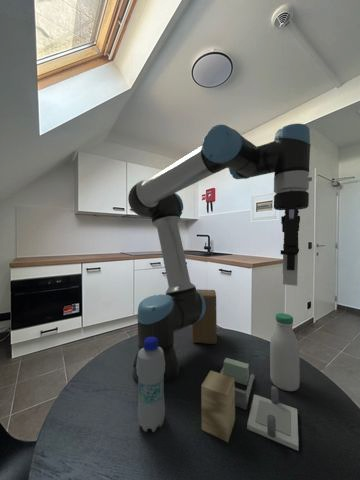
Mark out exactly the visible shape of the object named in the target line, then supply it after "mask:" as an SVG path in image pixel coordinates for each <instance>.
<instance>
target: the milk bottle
mask: <svg viewBox="0 0 360 480" xmlns="http://www.w3.org/2000/svg"><path fill="white" fill-rule="evenodd" d="M275 324H276V325H275V328H274V330H273V332H272V334H271V337H270V342H269V343H270V345H269V349H270V350H269V351H270V352H269V363H270V365H269V367H270V368H269V370H270V371H269V372H270V378H269V379H270V380H271V383H273V386H275V387H277V388H278V389H281V390H283V391H286V392H295V391H297V390H298V389H299V387H300V347H299V346H300V345H299V342H298V338H297V336H296V334H295V332H294V329H293V325H294V318H293V316H292V315H291V314H288V313H282V312H281V313H280V312H279V313H276V314H275Z"/></svg>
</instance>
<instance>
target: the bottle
mask: <svg viewBox="0 0 360 480" xmlns="http://www.w3.org/2000/svg"><path fill="white" fill-rule="evenodd" d="M136 369H137V376H138V382H137V384H138V385H137V386H138V387H137V389H138V391H137V392H138V393H137V395H138V401H137V421H138V425H139V426H140V427H141V428H142V430H143V432H146V433H147V432H148V431H149V429H150V430H151V431H152V433H154V432H156V430H157V429H158V428H161V427H162V426H163V424H164V421H165V415H166V406H165V405H166V404H165V388H164V387H165V386H164V372H165V359H164V352H163V350H162V348H160V347H158V339H157V338H156V337H148V338H146V339H145V340H144V348H142V349H141V350H140V351H139V352H138V358H137V366H136Z"/></svg>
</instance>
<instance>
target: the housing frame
mask: <svg viewBox="0 0 360 480" xmlns="http://www.w3.org/2000/svg"><path fill="white" fill-rule="evenodd" d="M219 373H220V374H223V375H224V365H223V366H222V368H221V370H220V372H219ZM254 382H255V374H252V373H251V374H250V375H249V382H248V385H246V389H245V390H244V389H240V388H238V387H235V407H238V408H240V409H241V410H244V411H247V409H248V404H249V401H250V397H251V392H252V390H253V385H254Z"/></svg>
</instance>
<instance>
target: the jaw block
mask: <svg viewBox="0 0 360 480" xmlns="http://www.w3.org/2000/svg"><path fill="white" fill-rule="evenodd" d="M235 385H236V384H235V378H233V377H230V376H226V375H223V374H220V372H217V371H214V370H210V371H209V372H208V374H207V376H206V377H205V378H204V381H203V382H202V383H201V388H200V389H201V390H200V393H201V395H200V396H201V398H200V399H201V400H200V401H201V405H200V406H201V430H202V431H203V432H206V433H208V434H210V435H212V436H214V437H216V438H218V439H220V440H223V441H224V442H226V443H229V441H230V437H231V434H232V431H233V429H234V425H235V421H236V406H235V388H236V387H235Z"/></svg>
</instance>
